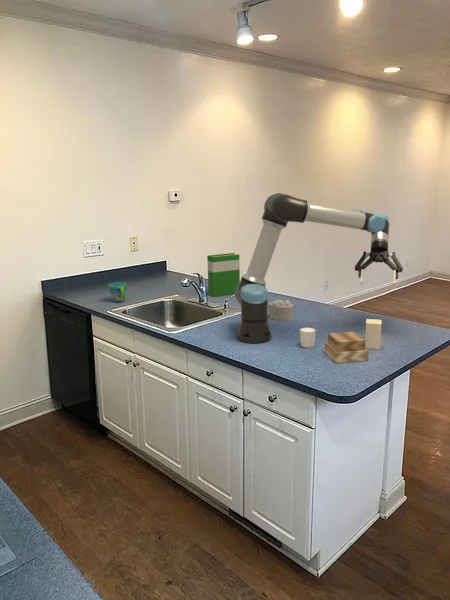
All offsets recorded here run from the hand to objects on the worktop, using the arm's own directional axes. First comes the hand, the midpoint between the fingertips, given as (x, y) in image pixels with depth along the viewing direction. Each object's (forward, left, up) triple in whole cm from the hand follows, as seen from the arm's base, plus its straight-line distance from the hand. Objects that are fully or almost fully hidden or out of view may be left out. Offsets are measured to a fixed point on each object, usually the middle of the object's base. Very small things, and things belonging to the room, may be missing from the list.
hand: (377, 284), depth 216 cm
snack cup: (-117, +90, -24) cm, 150 cm away
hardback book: (-54, +92, -24) cm, 109 cm away
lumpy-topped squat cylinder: (-33, +36, -24) cm, 54 cm away
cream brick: (-7, -13, -24) cm, 28 cm away
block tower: (-22, -21, -24) cm, 39 cm away
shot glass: (-33, -6, -24) cm, 41 cm away
